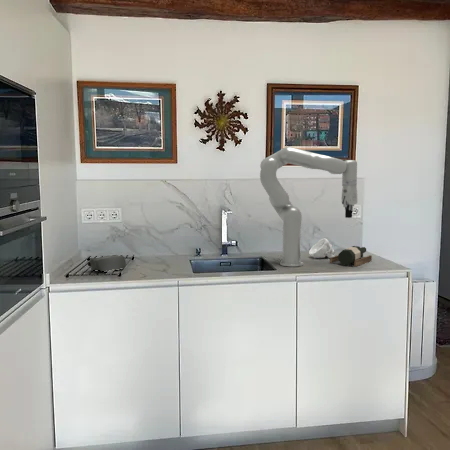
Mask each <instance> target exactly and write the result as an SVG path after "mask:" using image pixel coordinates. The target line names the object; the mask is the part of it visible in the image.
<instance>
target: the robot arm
mask: <svg viewBox="0 0 450 450" xmlns="http://www.w3.org/2000/svg"><path fill="white" fill-rule="evenodd" d="M288 164H290V165H294V166H298V167H302V168H305V169H310V170H319V171H320V170H321V171H325V172H328V173H330V174H331V175H341V174H342V175H341V178H342V179H341V186H342V191H341V204H342V205H343V206H342V207H343V208H344V210H345V211H344V212H345V215H344V217H345V218H346V219H347V218H349V219H350V218H353V209H354V207H355V205H357V204H358V187H357V184H358V161H357V160H355V159H347V160H343V159H340V158H336V157H333V156H329V155H325V154H320V153H316V152H312V151H309V150H305V149H301V148H296V147H293V146H286V147H283V148H282V149H280V150H278V151H276V152H275V153H273V154H271V155H269V156H267V157H265V158H264V159H262V160H261V161H260V165H259V166H260V173H259V179H260V183H261V185H262V187H263V189H264V190H265V192H266V194H267V195H268V200H269V203H270V205H271V206H272V207H273V209H274V211H275V212H276V213H277V215H278V216H279V218H280V219H281V220H282V221H283V223H282V255H277V257H276V259H277V260H280V262H279V265H280V266H283V267H289V268H290V267H293V268H295V267H302V266H303V265H304V262H303V261H301V245H302V244H301V243H302V242H301V240H302V239H301V237H302V236H301V235H302V234H301V232H302V230H301V229H302V221H303V217H302V212H301V210H300V209H299V208H298V207H297V206H294V205H293V203H292V202H291V201H290V195H289V194H288V192H287V191H286V190H285V188H284V187H283V185H282V184H281V182H280V181H279V179H278V177H277V171H278V170H279V169H280V168H282V167H284V166H286V165H288Z"/></svg>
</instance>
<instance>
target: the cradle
mask: <svg viewBox="0 0 450 450" xmlns="http://www.w3.org/2000/svg"><path fill="white" fill-rule="evenodd" d="M372 257H373V256H372V255H367V256H363V257H362V258H361V259H358V260H355V261H354V263H352V264H350V265H346V266H347V267H355V268H357V267H359V266H361V265H364V264H365V265H366V264H367V263H371V262H372V261H373V260H372V259H373V258H372ZM329 264H334V265H339V266H343V265H342V264H341V263H340V261H339V260H338V254H337V255H335V256H334V257H331V258H329Z"/></svg>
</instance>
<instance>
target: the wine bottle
mask: <svg viewBox="0 0 450 450" xmlns="http://www.w3.org/2000/svg"><path fill="white" fill-rule="evenodd" d="M366 252H367V248H366V247H365V246H362V247H361V246H357V245H353V246H350V247H347V248H345V249H342V250H341V251H340V252H339V253H338V254H337V255H338V260H339V261H340V263H341V264H342V265H341V266H347V265H350V264H352V263H354V261H355V260H358V259H361V258H364V253H366Z"/></svg>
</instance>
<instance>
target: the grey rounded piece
mask: <svg viewBox="0 0 450 450" xmlns="http://www.w3.org/2000/svg"><path fill="white" fill-rule="evenodd" d="M87 266H88V267H90V270H91V271H92V270H100V271H99V272H102V271H106V270H112V269H120V268H123V269H124V268H126V266H127V262H126V258H125V256H124V255H119V254H118V255H117V254H112V255H103V256H100V257H93V258H90V259H89V261H88V263H87Z"/></svg>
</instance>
